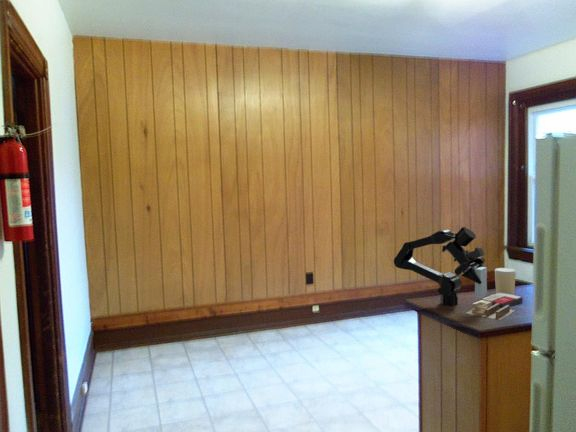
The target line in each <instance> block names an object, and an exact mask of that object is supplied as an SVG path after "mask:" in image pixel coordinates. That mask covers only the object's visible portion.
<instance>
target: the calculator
mask: <svg viewBox="0 0 576 432" xmlns="http://www.w3.org/2000/svg"><path fill="white" fill-rule="evenodd" d="M523 299H524V298H523V296H519V295H515V294H514V295H511V294H506V293H501V292H500V293H497V294H496V293H494V294H491V295H488V296H484V297H482V298H481V299H480V300H479V301H481V300H484V301H489V302H492V306H493V305H495V304H497V303H499V304H500V308H503V307H505V306H506V305H510V307H512V306H516V305H518V304H521V305H522V304H523V302H524V301H523Z"/></svg>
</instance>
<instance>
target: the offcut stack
mask: <svg viewBox="0 0 576 432" xmlns="http://www.w3.org/2000/svg"><path fill="white" fill-rule="evenodd" d="M480 300H481V301H480ZM480 300H478V301H476V302H473V303H472V307H473V308H472V309H471V310H472V312H476V313H481V314H485V310H486V309H488V308H489V307H491V306H492V302H489V301H484V300H482V299H480Z"/></svg>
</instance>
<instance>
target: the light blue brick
mask: <svg viewBox="0 0 576 432" xmlns="http://www.w3.org/2000/svg"><path fill="white" fill-rule="evenodd" d="M475 273H476V275H477V276H478V277H479V279H480V280H481V282H482V283H481V284H478V283H476V282H474V298H477V299H482V298H485V297H487V295H488V283H487V282H488V280H487V278H488V267H486V266H483V267H479V268H477V269H475Z"/></svg>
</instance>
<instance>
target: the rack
mask: <svg viewBox="0 0 576 432" xmlns="http://www.w3.org/2000/svg"><path fill="white" fill-rule="evenodd" d="M515 311H516V310H514V309H511V306H510V305H506V306H505V307H503V308H500V304H499V303H497V304H495V305H493V306H491V307H489V308H488V309H486V310H485V314H481V313H476V312H472V309H471V310H469V311H467V312H466V315H473V316H478V317H482V318H487V319H493V320H497V321H501V320H502V319H504V318H506V317H507V316H509V315H511V314H512V313H513V312H515Z"/></svg>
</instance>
